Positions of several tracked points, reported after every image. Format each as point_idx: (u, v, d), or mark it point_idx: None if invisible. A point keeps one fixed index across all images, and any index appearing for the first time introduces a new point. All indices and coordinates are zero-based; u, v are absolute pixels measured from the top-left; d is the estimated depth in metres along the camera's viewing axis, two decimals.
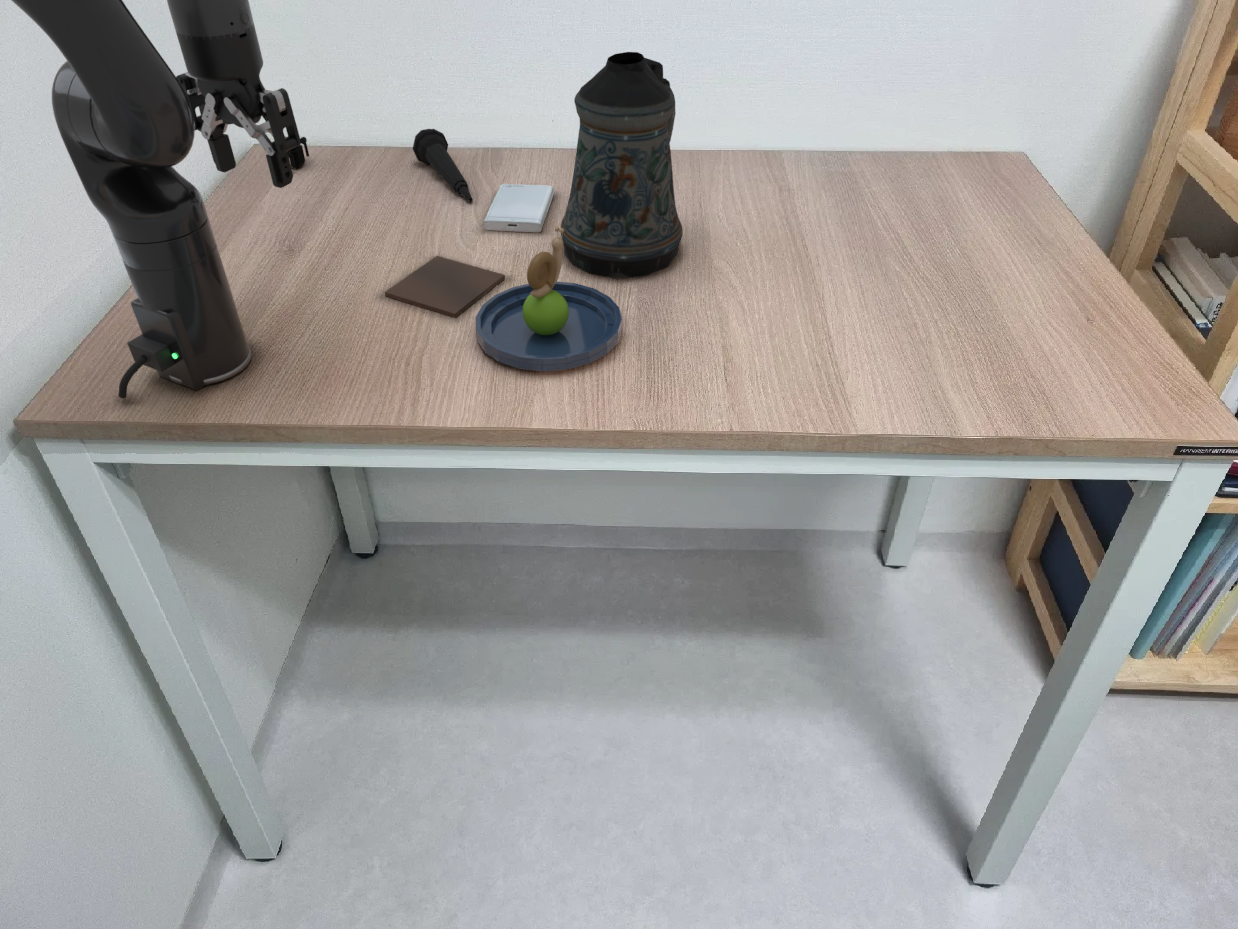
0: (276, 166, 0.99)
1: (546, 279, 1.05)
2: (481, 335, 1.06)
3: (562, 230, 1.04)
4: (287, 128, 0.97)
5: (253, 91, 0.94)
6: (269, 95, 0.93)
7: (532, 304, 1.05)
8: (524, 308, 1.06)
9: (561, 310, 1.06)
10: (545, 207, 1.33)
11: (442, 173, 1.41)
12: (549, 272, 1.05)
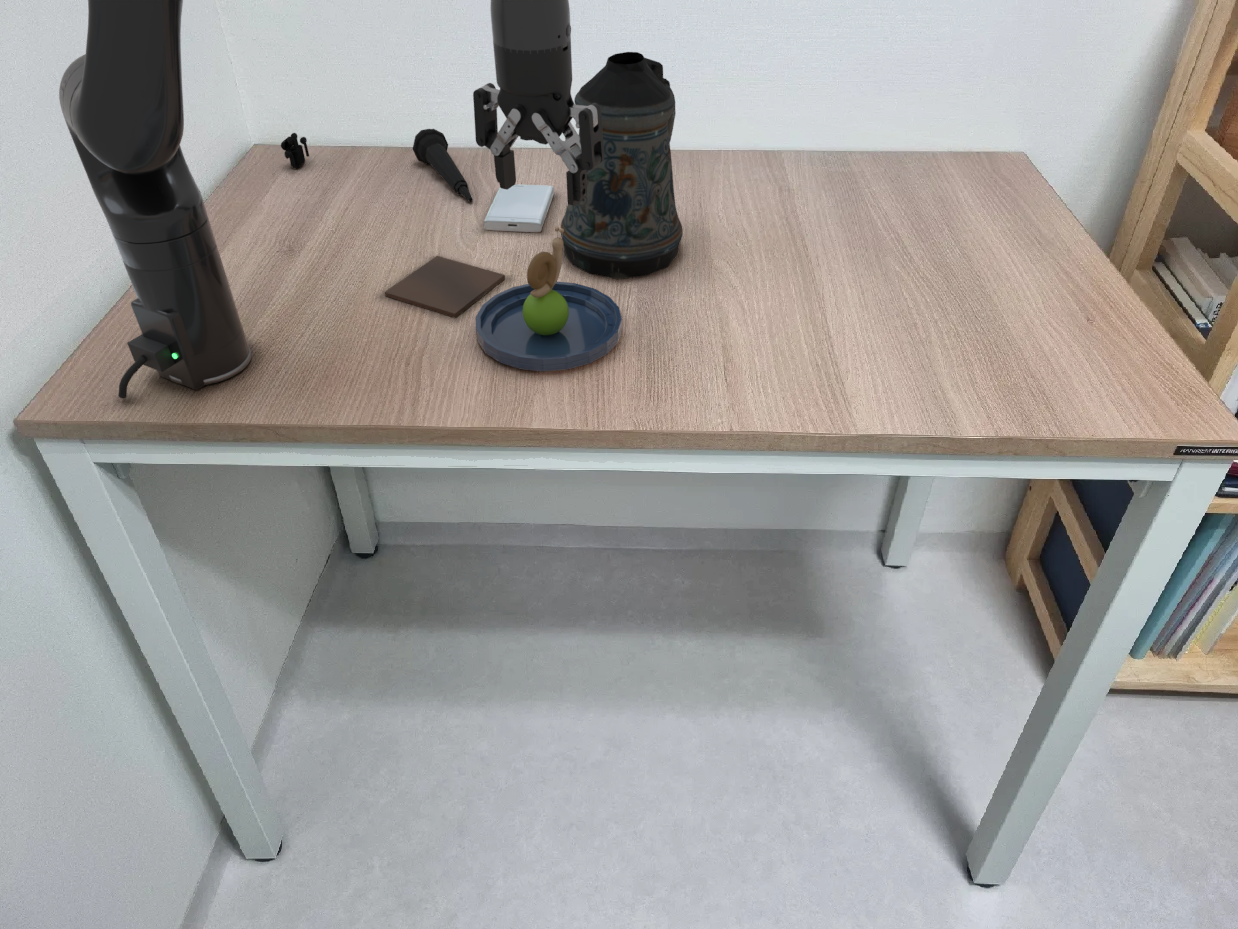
0: (575, 183, 0.95)
1: (546, 279, 1.05)
2: (481, 335, 1.06)
3: (562, 230, 1.04)
4: None
5: (566, 106, 0.90)
6: (587, 110, 0.89)
7: (532, 304, 1.05)
8: (524, 308, 1.06)
9: (561, 310, 1.06)
10: (545, 207, 1.33)
11: (442, 173, 1.41)
12: (549, 272, 1.05)
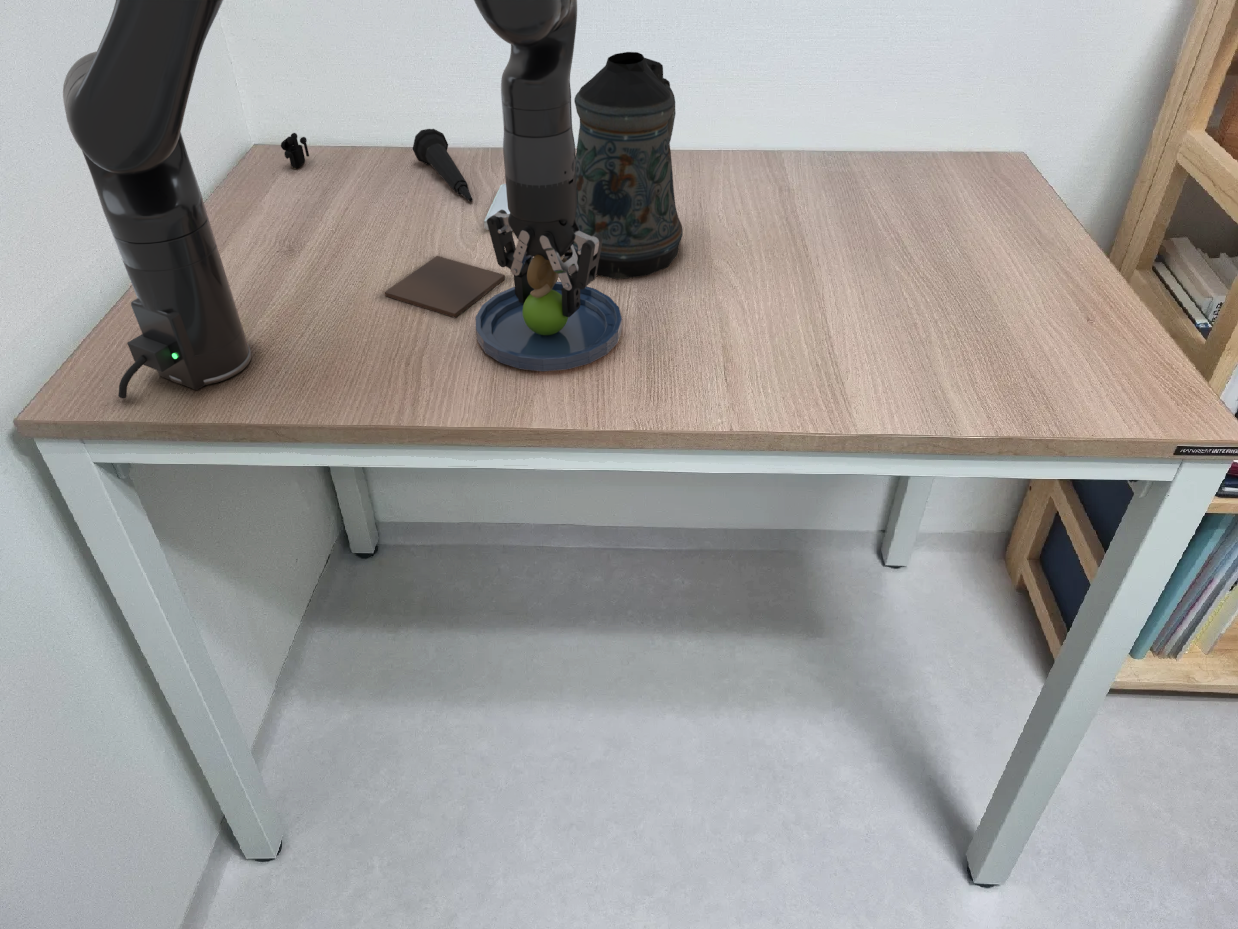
0: (569, 298, 1.04)
1: (546, 279, 1.05)
2: (481, 335, 1.06)
3: None
4: None
5: (571, 230, 0.99)
6: (591, 243, 0.98)
7: (532, 304, 1.05)
8: (524, 308, 1.06)
9: (561, 310, 1.06)
10: None
11: (442, 173, 1.41)
12: (549, 272, 1.05)
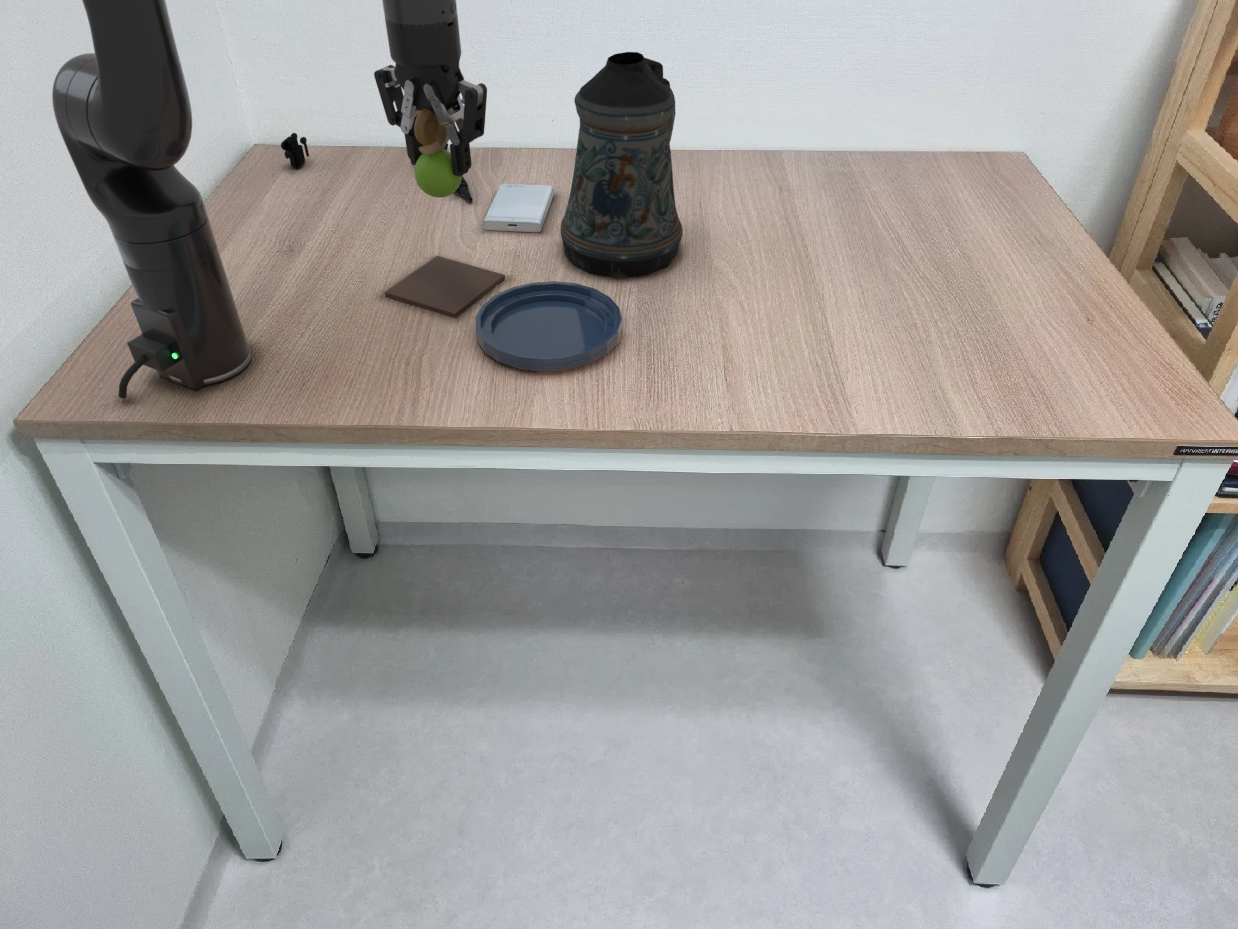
0: (459, 155, 1.03)
1: (436, 136, 1.04)
2: (481, 335, 1.06)
3: None
4: None
5: (454, 78, 0.97)
6: (473, 90, 0.97)
7: (422, 162, 1.04)
8: (415, 167, 1.05)
9: None
10: (545, 207, 1.33)
11: None
12: (439, 129, 1.03)
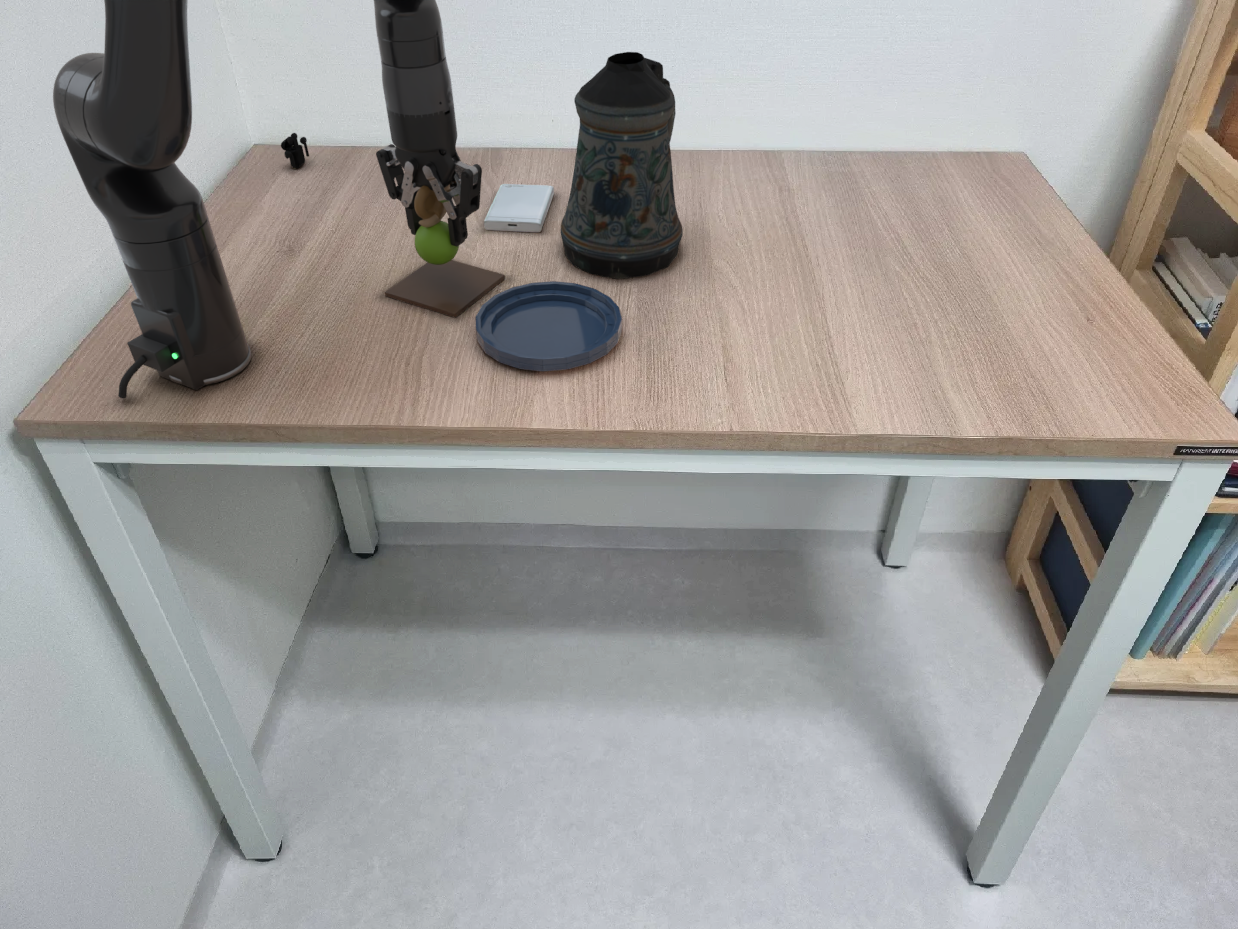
0: (456, 228, 1.11)
1: (434, 209, 1.11)
2: (481, 335, 1.06)
3: None
4: None
5: (451, 160, 1.05)
6: (469, 172, 1.04)
7: (421, 234, 1.12)
8: (415, 238, 1.13)
9: None
10: (545, 207, 1.33)
11: None
12: (437, 203, 1.11)
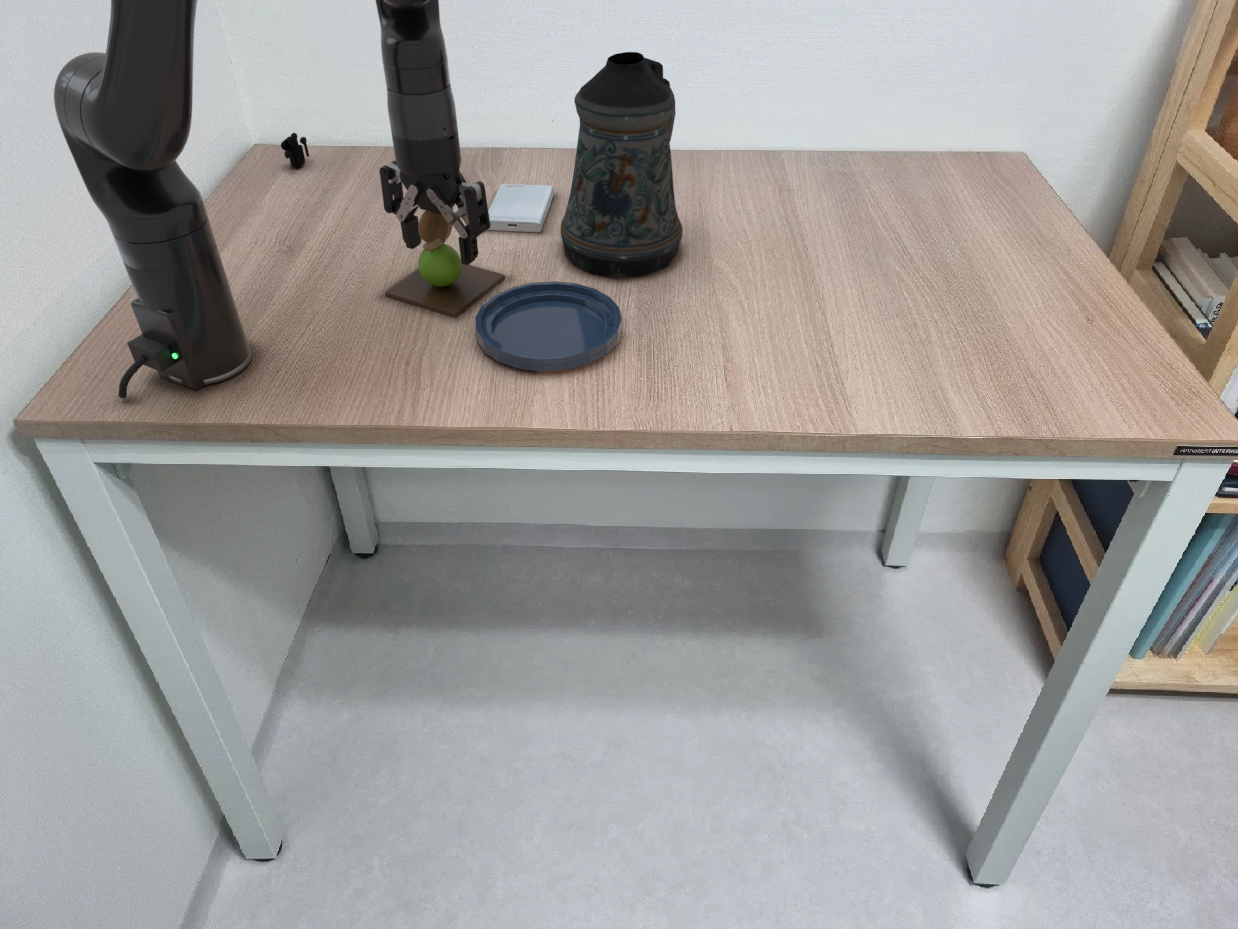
0: (466, 246, 1.11)
1: (438, 233, 1.13)
2: (481, 335, 1.06)
3: None
4: (479, 215, 1.09)
5: (454, 184, 1.07)
6: (471, 188, 1.05)
7: (425, 257, 1.14)
8: (419, 261, 1.15)
9: (453, 262, 1.14)
10: (545, 207, 1.33)
11: None
12: (440, 227, 1.13)
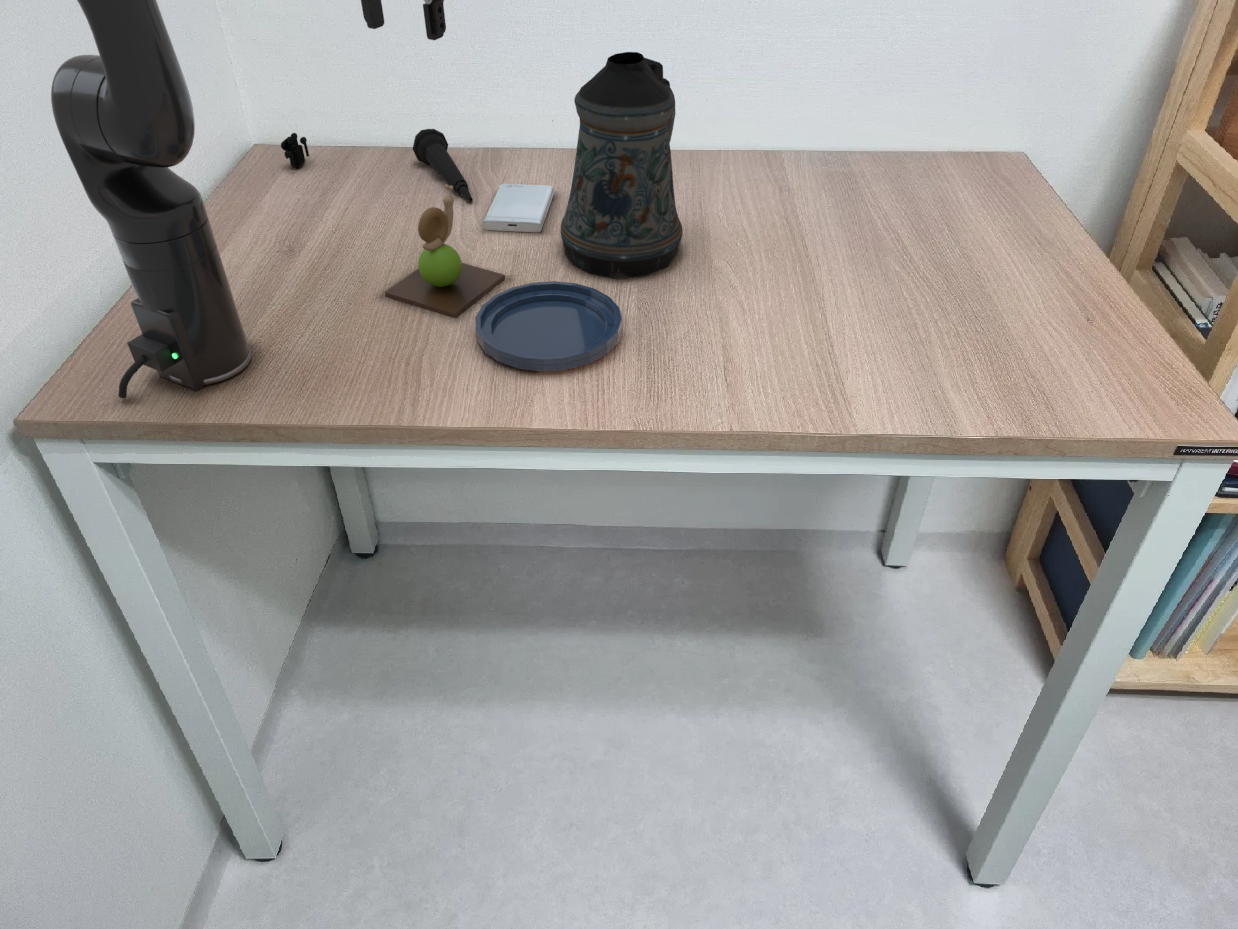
0: (432, 16, 1.00)
1: (438, 233, 1.13)
2: (481, 335, 1.06)
3: (451, 187, 1.12)
4: None
5: None
6: None
7: (425, 257, 1.14)
8: (419, 261, 1.15)
9: (453, 262, 1.14)
10: (545, 207, 1.33)
11: (442, 173, 1.41)
12: (440, 227, 1.13)
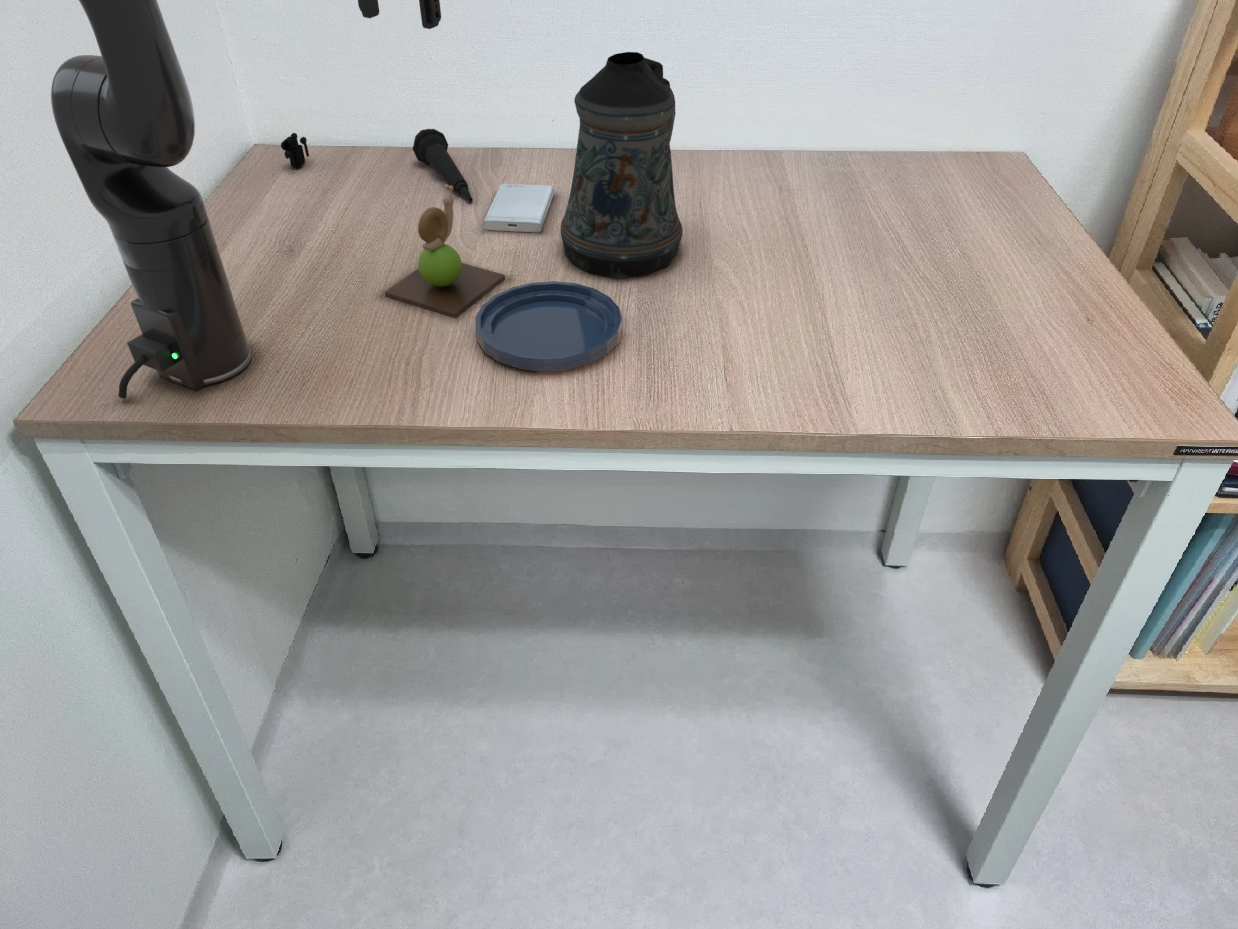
0: (427, 4, 1.00)
1: (438, 233, 1.13)
2: (481, 335, 1.06)
3: (451, 187, 1.12)
4: None
5: None
6: None
7: (425, 257, 1.14)
8: (419, 261, 1.15)
9: (453, 262, 1.14)
10: (545, 207, 1.33)
11: (442, 173, 1.41)
12: (440, 227, 1.13)
